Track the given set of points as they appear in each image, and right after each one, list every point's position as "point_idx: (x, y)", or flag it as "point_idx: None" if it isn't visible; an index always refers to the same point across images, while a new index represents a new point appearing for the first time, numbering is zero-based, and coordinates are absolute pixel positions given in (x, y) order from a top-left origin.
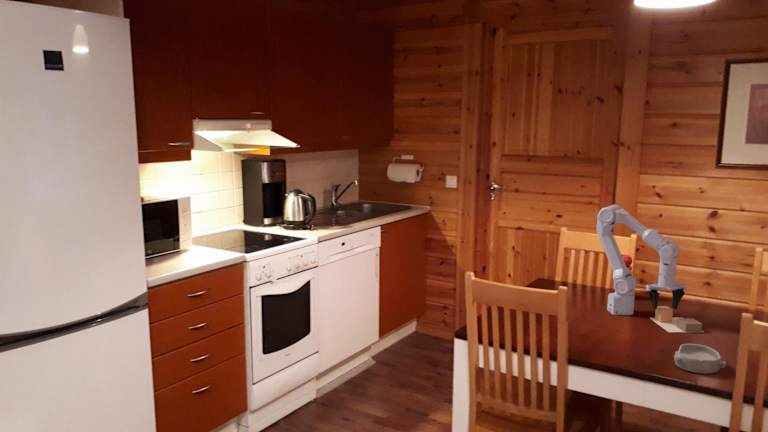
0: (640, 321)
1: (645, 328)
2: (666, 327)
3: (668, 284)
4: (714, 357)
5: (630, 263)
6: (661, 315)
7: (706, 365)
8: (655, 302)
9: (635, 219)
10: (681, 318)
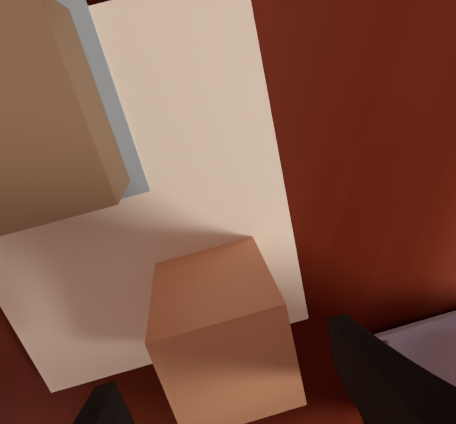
0: (368, 270)
1: (388, 121)
2: (233, 117)
3: None
4: None
5: None
6: (263, 269)
7: None
8: (415, 366)
9: None
10: (69, 209)
